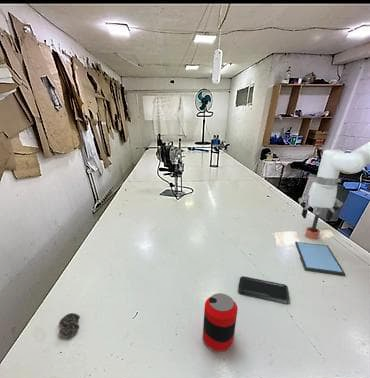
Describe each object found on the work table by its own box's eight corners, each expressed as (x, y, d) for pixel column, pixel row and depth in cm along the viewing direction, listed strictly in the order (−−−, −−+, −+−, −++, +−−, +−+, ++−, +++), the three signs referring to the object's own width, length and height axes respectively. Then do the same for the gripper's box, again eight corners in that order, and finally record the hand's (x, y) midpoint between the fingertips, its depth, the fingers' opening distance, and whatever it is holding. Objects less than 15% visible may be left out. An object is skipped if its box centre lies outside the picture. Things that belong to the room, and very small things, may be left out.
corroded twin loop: (58, 342, 57) (57, 339, 57) (60, 318, 64) (59, 315, 64) (80, 335, 59) (80, 332, 59) (80, 313, 66) (79, 310, 65)
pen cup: (316, 235, 110) (318, 227, 109) (319, 241, 105) (321, 233, 104) (303, 234, 111) (305, 226, 110) (306, 239, 106) (308, 231, 105)
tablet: (327, 247, 100) (327, 245, 100) (344, 276, 83) (345, 273, 82) (294, 243, 103) (295, 241, 103) (304, 270, 85) (305, 268, 85)
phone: (240, 275, 80) (287, 284, 76) (240, 278, 81) (286, 287, 76) (237, 290, 73) (289, 301, 69) (237, 293, 74) (288, 304, 70)
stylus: (313, 235, 109) (319, 211, 104) (314, 237, 107) (320, 213, 102) (309, 235, 109) (315, 211, 104) (310, 237, 107) (316, 212, 102)
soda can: (204, 324, 63) (206, 288, 58) (233, 328, 62) (237, 292, 57) (201, 349, 56) (203, 311, 51) (233, 354, 55) (238, 316, 50)
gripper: (346, 180, 99) (334, 217, 106) (301, 177, 102) (293, 213, 110) (353, 185, 92) (340, 224, 99) (305, 181, 96) (296, 219, 103)
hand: (315, 218), depth 104 cm, fingers open, 9 cm apart
